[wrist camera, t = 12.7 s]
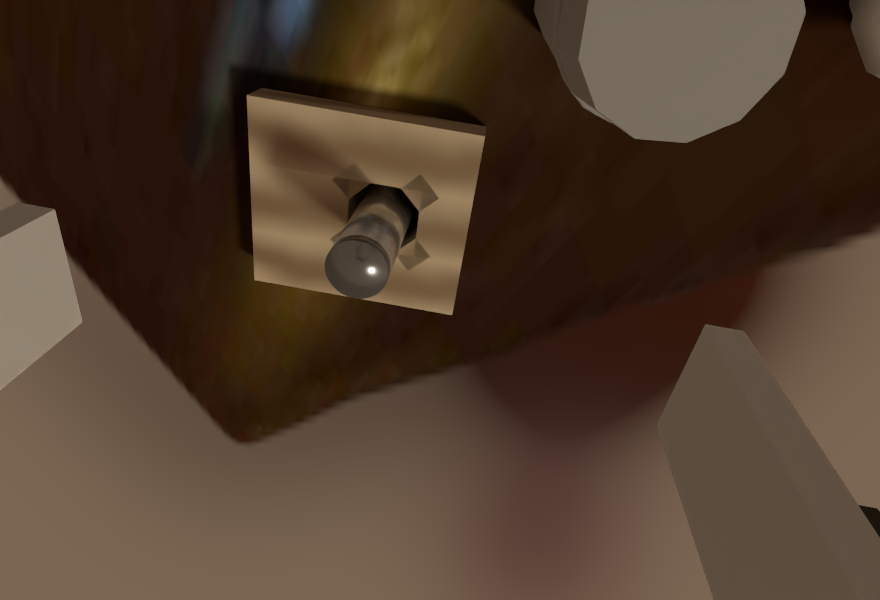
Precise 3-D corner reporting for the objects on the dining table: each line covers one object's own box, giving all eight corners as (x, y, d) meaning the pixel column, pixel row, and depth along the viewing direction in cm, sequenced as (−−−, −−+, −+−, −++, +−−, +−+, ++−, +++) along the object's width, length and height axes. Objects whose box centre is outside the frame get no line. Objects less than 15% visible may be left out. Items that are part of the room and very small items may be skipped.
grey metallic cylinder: (365, 177, 46) (325, 236, 36) (416, 186, 46) (391, 247, 36) (362, 224, 49) (323, 292, 38) (410, 233, 48) (385, 303, 38)
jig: (262, 87, 43) (246, 95, 41) (486, 126, 43) (484, 136, 40) (267, 264, 52) (254, 279, 49) (454, 297, 51) (452, 315, 49)
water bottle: (538, 69, 40) (572, 178, 19) (524, -55, 37) (548, -90, 15) (669, 42, 39) (867, 130, 17) (669, -91, 35) (923, -187, 14)
